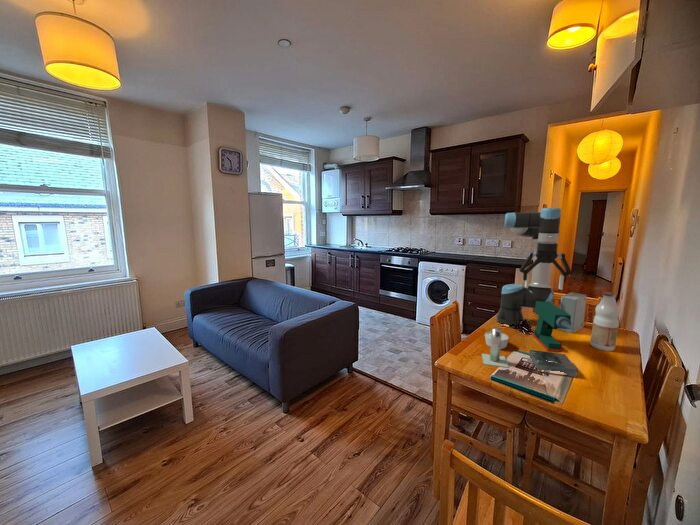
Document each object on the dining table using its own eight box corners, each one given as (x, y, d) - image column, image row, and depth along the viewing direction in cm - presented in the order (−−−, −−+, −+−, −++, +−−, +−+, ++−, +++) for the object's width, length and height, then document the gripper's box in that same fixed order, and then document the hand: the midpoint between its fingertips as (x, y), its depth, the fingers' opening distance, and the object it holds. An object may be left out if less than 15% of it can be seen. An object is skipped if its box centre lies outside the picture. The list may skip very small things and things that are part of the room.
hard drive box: (568, 323, 176) (571, 291, 173) (583, 327, 170) (587, 294, 167) (557, 329, 168) (561, 296, 164) (573, 333, 162) (577, 299, 158)
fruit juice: (593, 349, 144) (600, 294, 139) (588, 341, 152) (594, 289, 147) (617, 352, 139) (626, 296, 135) (611, 345, 148) (619, 291, 143)
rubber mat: (481, 354, 140) (481, 353, 140) (504, 357, 137) (504, 356, 137) (483, 364, 131) (483, 363, 131) (508, 367, 128) (508, 367, 128)
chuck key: (490, 363, 131) (493, 332, 128) (488, 355, 138) (490, 325, 136) (500, 364, 129) (503, 333, 127) (498, 356, 137) (500, 326, 134)
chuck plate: (529, 356, 137) (529, 349, 137) (564, 361, 133) (564, 354, 132) (537, 371, 124) (538, 364, 123) (576, 377, 120) (577, 369, 119)
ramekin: (494, 338, 157) (494, 329, 156) (513, 347, 147) (514, 337, 146) (479, 343, 152) (479, 333, 151) (498, 352, 142) (498, 342, 142)
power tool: (579, 366, 128) (584, 323, 125) (561, 365, 129) (566, 322, 126) (546, 336, 159) (549, 301, 155) (532, 335, 160) (535, 300, 157)
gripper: (518, 242, 131) (514, 288, 135) (584, 243, 123) (578, 292, 127) (514, 241, 138) (511, 284, 142) (577, 242, 130) (572, 288, 134)
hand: (543, 288), depth 134 cm, fingers open, 13 cm apart
